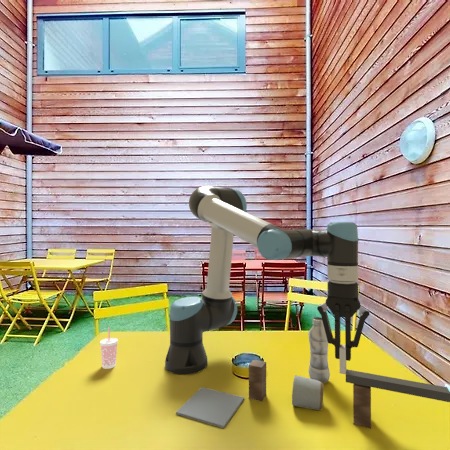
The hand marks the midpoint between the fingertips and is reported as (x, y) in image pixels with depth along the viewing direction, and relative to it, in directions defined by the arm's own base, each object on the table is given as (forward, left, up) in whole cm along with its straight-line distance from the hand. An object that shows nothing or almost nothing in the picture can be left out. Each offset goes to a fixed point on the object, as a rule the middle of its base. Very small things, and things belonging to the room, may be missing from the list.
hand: (343, 371), depth 81 cm
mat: (-33, -10, -12) cm, 37 cm away
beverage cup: (-78, -3, -12) cm, 79 cm away
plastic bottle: (-8, +17, -12) cm, 23 cm away
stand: (-9, 0, -12) cm, 15 cm away
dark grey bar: (+12, 0, -2) cm, 12 cm away
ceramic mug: (-10, +3, -12) cm, 16 cm away
